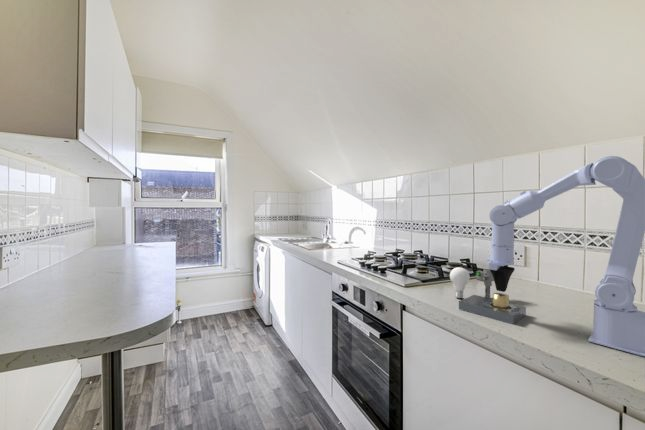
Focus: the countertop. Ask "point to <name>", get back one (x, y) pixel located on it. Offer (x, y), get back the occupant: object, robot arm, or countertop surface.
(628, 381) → the countertop surface
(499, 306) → the cylinder
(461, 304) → the plate
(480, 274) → the mechanical component
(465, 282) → the lightbulb
